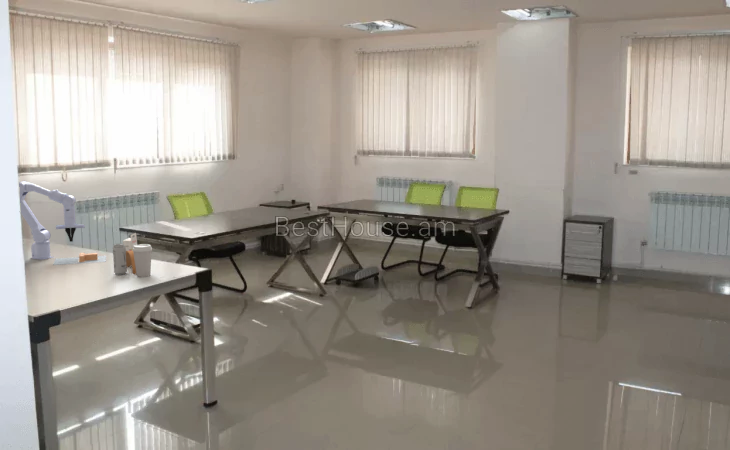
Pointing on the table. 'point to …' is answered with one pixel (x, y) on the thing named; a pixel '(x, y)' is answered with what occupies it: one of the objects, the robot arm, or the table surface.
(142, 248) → the coffee cup
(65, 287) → the table surface
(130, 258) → the arch
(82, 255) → the t block
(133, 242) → the ink cartridge box
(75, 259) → the board
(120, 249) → the energy drink can
